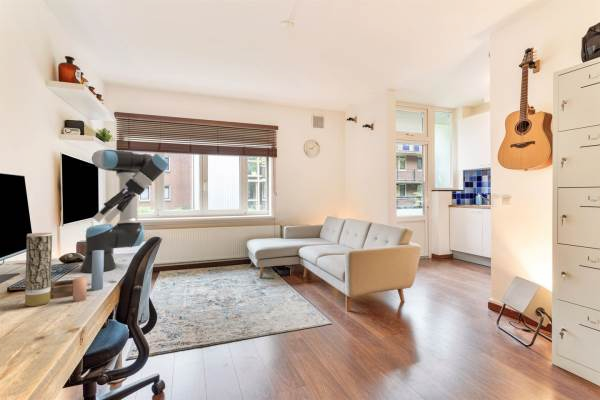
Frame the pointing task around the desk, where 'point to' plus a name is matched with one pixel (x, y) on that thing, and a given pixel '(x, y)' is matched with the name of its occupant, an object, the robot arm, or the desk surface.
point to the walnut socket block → (61, 289)
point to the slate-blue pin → (97, 270)
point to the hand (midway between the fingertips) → (101, 220)
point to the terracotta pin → (79, 289)
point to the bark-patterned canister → (38, 269)
